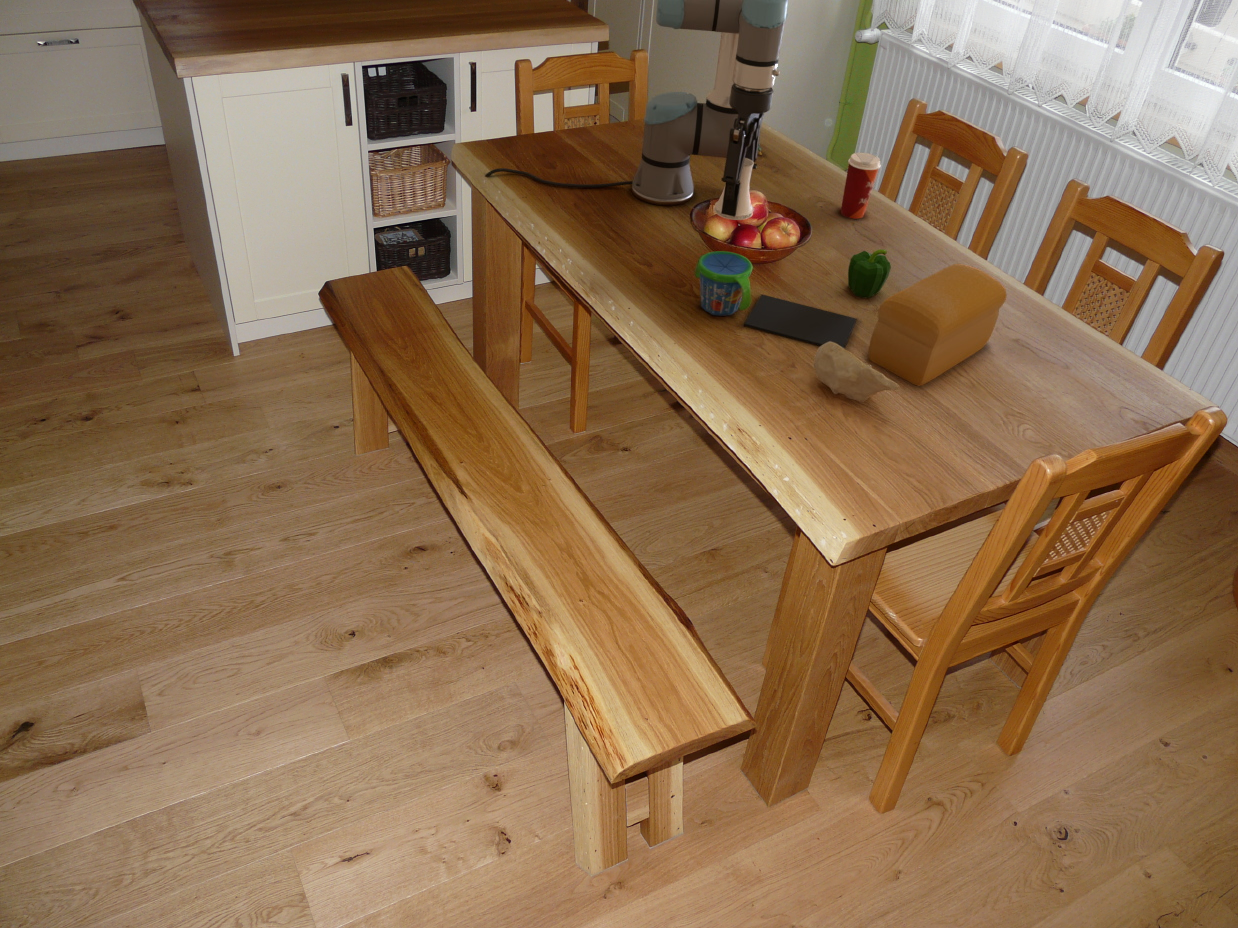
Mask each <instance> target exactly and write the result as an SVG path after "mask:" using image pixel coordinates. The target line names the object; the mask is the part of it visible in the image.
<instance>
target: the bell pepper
mask: <svg viewBox="0 0 1238 928" xmlns="http://www.w3.org/2000/svg"><path fill="white" fill-rule="evenodd" d="M887 253H888V251H887V250H886V249H877V250H875V251H873V252H872V253H870V252H868V251H867V250H862V251H861V252H858V253H856V254H853V255H852V256H851V258H850V260H849V265H848V272H847V282H848V283H847V284H848V288H849V290H850V291H852V293H853V295H854V296H857V297H858V298H865V299H868V298H869V299H870V298H872V297H873V296H876V295H877V294H878V293H879V292H880V291H881V290H882V288H883V287H884V285H885V283H886V281H888V278H889V275H890V272H891V269H892V267H891V262H890V261H889V260H888V258H887V256H886V254H887Z"/></svg>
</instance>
